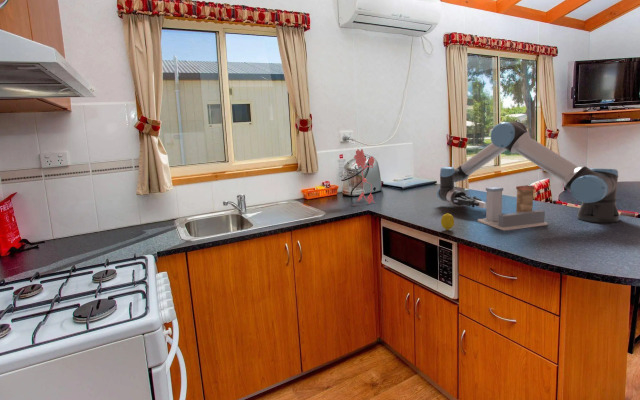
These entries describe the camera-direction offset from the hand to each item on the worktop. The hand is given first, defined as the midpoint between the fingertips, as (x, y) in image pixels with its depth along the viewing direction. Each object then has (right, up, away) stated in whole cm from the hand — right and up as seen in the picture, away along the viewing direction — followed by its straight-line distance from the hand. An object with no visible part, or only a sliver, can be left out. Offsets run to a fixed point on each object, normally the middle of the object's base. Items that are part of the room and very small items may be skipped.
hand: (484, 205), depth 173 cm
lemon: (-22, -11, -12) cm, 28 cm away
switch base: (+9, -8, -7) cm, 14 cm away
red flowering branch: (-52, 0, +59) cm, 79 cm away
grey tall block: (+2, -7, -5) cm, 9 cm away
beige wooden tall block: (+15, -6, -6) cm, 18 cm away
